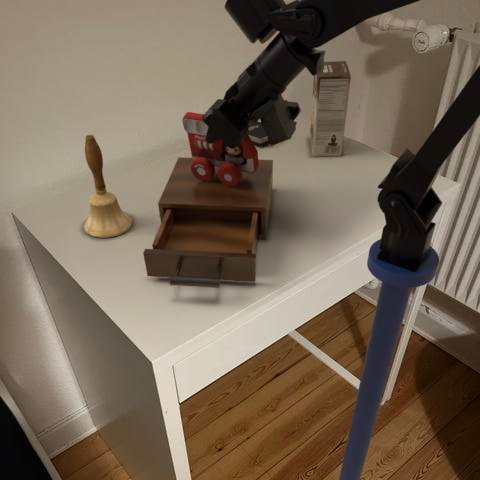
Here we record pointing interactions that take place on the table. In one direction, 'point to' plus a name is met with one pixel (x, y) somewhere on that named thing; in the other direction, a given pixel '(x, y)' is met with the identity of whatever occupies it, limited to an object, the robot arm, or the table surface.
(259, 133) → the external hard drive
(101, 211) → the hand bell
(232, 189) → the cabinet
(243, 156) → the toy fire truck
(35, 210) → the table surface
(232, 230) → the drawer
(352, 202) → the table surface
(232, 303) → the table surface
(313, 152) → the coffee box
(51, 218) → the table surface
